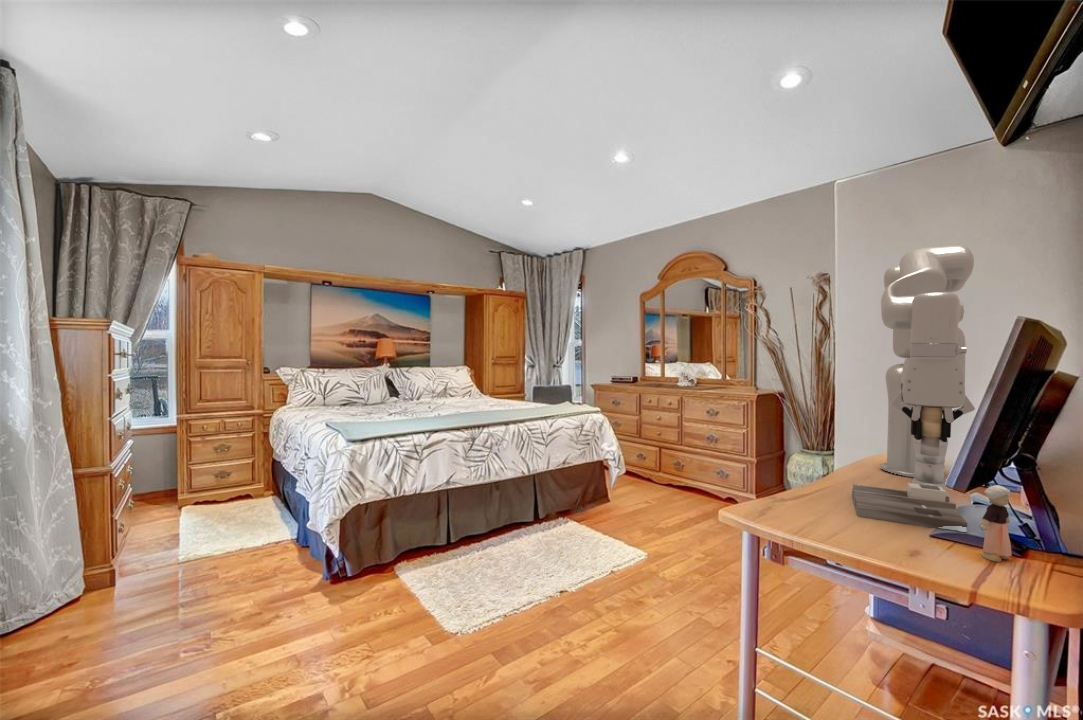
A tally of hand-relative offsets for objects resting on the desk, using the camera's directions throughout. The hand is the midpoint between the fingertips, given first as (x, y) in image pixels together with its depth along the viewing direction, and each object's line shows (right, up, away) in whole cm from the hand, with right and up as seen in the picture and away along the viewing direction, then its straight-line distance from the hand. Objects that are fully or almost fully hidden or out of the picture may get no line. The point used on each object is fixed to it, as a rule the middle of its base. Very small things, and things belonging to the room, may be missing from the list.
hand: (930, 439), depth 99 cm
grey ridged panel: (-1, -17, +6) cm, 18 cm away
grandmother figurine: (-1, -18, -16) cm, 24 cm away
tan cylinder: (0, -3, 0) cm, 3 cm away
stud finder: (+5, -15, +7) cm, 17 cm away
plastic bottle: (+11, -17, +14) cm, 24 cm away
